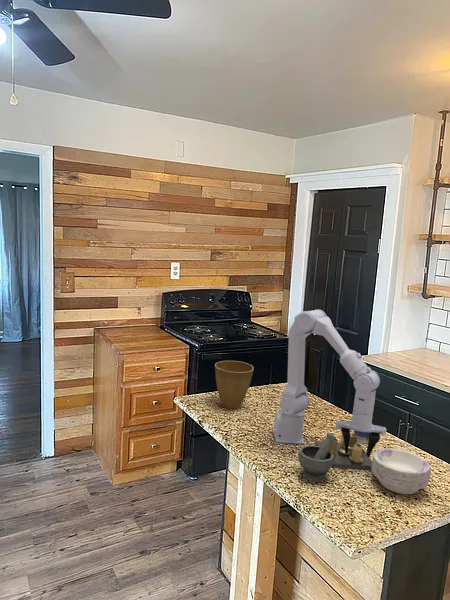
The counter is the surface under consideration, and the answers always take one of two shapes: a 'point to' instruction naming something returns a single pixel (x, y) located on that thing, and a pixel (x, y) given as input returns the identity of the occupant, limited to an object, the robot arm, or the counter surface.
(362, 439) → the pill bottle
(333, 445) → the knob left
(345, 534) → the counter surface
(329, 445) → the mortar and pestle
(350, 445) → the knob far
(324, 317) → the robot arm
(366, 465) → the base plate
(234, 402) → the plant pot
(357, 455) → the knob near
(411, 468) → the paper bowls
